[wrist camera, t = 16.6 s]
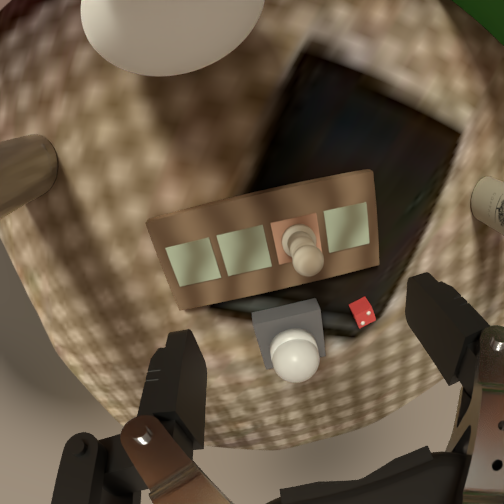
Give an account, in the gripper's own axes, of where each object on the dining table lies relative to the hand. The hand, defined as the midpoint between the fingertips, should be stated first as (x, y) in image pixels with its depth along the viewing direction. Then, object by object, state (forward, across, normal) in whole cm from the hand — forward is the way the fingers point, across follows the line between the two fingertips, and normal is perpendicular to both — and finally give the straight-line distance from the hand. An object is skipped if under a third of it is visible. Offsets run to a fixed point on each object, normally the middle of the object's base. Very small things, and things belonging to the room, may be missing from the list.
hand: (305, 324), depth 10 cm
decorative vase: (+30, +4, -21) cm, 37 cm away
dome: (+26, 0, +26) cm, 37 cm away
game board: (+30, 0, +10) cm, 31 cm away
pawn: (+28, -4, +10) cm, 30 cm away
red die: (+30, -12, +25) cm, 41 cm away
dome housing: (+30, 0, +26) cm, 39 cm away
